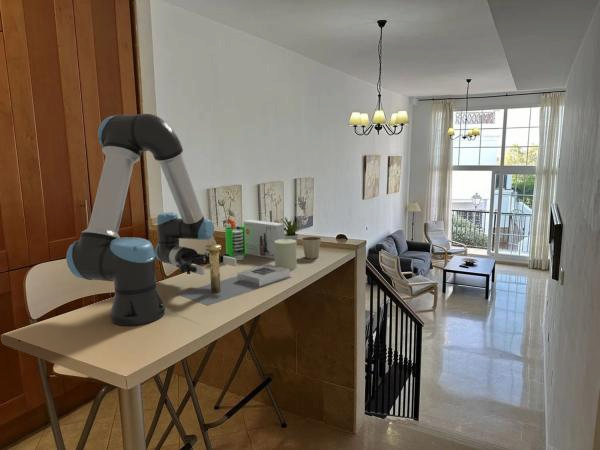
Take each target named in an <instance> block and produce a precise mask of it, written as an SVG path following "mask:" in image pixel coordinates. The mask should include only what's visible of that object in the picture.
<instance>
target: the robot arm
mask: <svg viewBox="0 0 600 450" xmlns="http://www.w3.org/2000/svg"><path fill="white" fill-rule="evenodd" d="M97 137H98V139H99V140H98V143H99V144H100V146H101V147H102V150H101V151H102V153H103V155H104V156H105V157H104V158H105V159H104V163H103V166H102V170H101V171H102V172H101V174H100V179H99V182H98V187H97V191H96V195H95V200H94V202H93V203H94V204H93V208H92V212H91V215H90V218H89V223H88V227H87V228H86V229H85V230H82V231H81V232H80V233H81V234H80V237H79V239H78V240H76V241H73V243H72V244H70V245H69V247H68V248H67V251H66V265H67V267H68V269H69V270H70V272H71V273H72V275H74V277H77V278H80V279H84V280H87V281H88V280H89V281H93V280H95V281H102V282H103V281H105V282H113V284H114V297H113V302H112V306H111V311H110V321H111V322H112V323H113V324H115V325H118V326H124V327H125V326H127V327H128V326H129V327H132V326H139V325H140V326H141V325H145V324H148V323H149V324H150V323H152V322H155V321H157V320H159V319H161V318H162V317H163V316H164V315H165V311H166V310H165V304H164V302H163V300H162V298H161V296H160V293H159V291H158V288H157V274H156V261H155V258H156V259H157V261H160V262H162V263H164V264H169V265H174V266H175V267H177V268H178V269H179V271H180V273H181V274H183V273H185V272H186V274H187V275H191V273H194V274H196V275H200V276H205V266H203V265H207V264H210V262H209V252H205V253H204V254H202V253H198V252H197V250H195V249H193V248H190V247H186V246H181V245H180V239H186V240H198V241H201V240H202V241H203V240H204V241H205V240H210V239H211V238H212V237H213V235H214V233H215V224H214V222H213V221H212V220H211V219H208V218H205V217H204V214H203V211H202V209H201V206H200V204H199V201H198V197H197V195H196V191H195V189H194V186H193V182H192V181H191V178H190V174H189V172H188V169H187V166H186V165H185V164H186V163H185V161H184V158H183V155H182V154H183V153H184V148H183V146H182V144H181V141H180V139H179V137H178V135H177V133H175V131H174V129H173V128H172V127H171V126H170V125H169V124H168V123H167V122H166V121H165V120H164V119H162V118H161V117H159V116H157V115H156V114H155V115H154V114H152V113H140V114H139V113H138V114H116V115H110V116H108V117H106V118H105V119H103V121H101V123H100V125H99V127H98V131H97ZM145 151H146V152H150V153H151V154H152V156H153V159H154V160H155V161H156V162H158V163H159V165H160V167H161V170H162V172H163V175H164V177H165V180H166V182H167V186H168V187H169V190H170V193H171V195H172V197H173V200H174V202H175V204H176V208H177V210H178V212H179V215H180V217H181V218H179V216H178V213H177V212H171V211H170V212H168V211H167V212H162V213H159V214H158V215H157V221H156V222H157V223H156V226H157V237H158V244H156V246H155V249H154V246H153V244H152V242H151V241H150V240H148V239H146V238H142V237H137V236H136V237H135V236H132V237H128V236H125V237H124V236H123V237H122V236H121V237H120V235H119V230H120V225H121V221H122V217H123V212H124V207H125V204H126V199H127V195H128V191H129V187H130V182H131V178H132V173H133V169H134V164H135V163H138V162H140V160H141V157H142V152H145ZM237 261H238V260H236V258H232V257H229V254H226V252H225V253H219V264H220V263H222V264H223V265H226V266H231V267H237V265H238V262H237Z"/></svg>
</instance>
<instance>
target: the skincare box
mask: <svg viewBox="0 0 600 450" xmlns="http://www.w3.org/2000/svg"><path fill="white" fill-rule="evenodd" d="M242 222H243V227H245V255H251V256H257V257H263V258H267V259H273V260H275V247H274V241H275V240H279V239H285V238H284V234H285V231H284V225H285V224H284V223H283V222H282V223H283V224H282V223H281V222H280V223H279V222H271V221H264V220H256V219H248V220H247V219H246V220H243V221H242Z"/></svg>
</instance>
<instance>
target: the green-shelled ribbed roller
mask: <svg viewBox="0 0 600 450" xmlns="http://www.w3.org/2000/svg"><path fill="white" fill-rule="evenodd" d="M226 221H227V222H226V224H229V225H230V226H227V227H225V228H224V233H225V253H226V254H229V257H232V258H236V260H237V261H241V260H244V259H245V258H246V253H245V227H244V226H239V225H238V226H237V225H236V223H235V219H233V218H229V219H226Z"/></svg>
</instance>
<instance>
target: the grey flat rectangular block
mask: <svg viewBox="0 0 600 450" xmlns="http://www.w3.org/2000/svg"><path fill="white" fill-rule="evenodd" d="M236 276H237V280H238V281H240V282H243V283H247V284H250V285H254V286H257V287H261V286H264V285H267V284H270V283H273V282H276V281H279V280H282V279H285V278H288V277H291V270H290V269H287V268H282V267H278V266H275V264H274V265H273V264H269V263H267V264H264V265H262V266H257V267H254V268H251V269H247V270H244V271H240V272H237V274H236Z"/></svg>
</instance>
